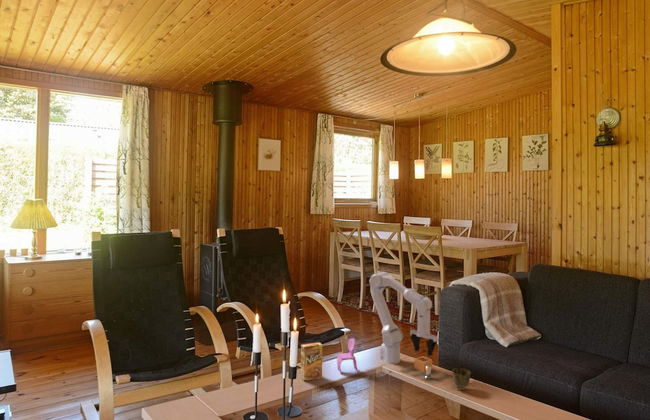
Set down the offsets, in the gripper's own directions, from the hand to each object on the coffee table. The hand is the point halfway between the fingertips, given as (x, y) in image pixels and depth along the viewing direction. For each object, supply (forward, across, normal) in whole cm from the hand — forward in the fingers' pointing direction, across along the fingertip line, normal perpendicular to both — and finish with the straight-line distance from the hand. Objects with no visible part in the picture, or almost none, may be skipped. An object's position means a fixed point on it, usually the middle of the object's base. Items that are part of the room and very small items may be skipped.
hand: (423, 353), depth 215 cm
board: (+8, +4, -4) cm, 10 cm away
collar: (+7, 0, 0) cm, 7 cm away
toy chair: (+9, -22, -28) cm, 36 cm away
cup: (+9, +23, -4) cm, 25 cm away
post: (+8, +8, -6) cm, 13 cm away
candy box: (+8, -26, -46) cm, 53 cm away
